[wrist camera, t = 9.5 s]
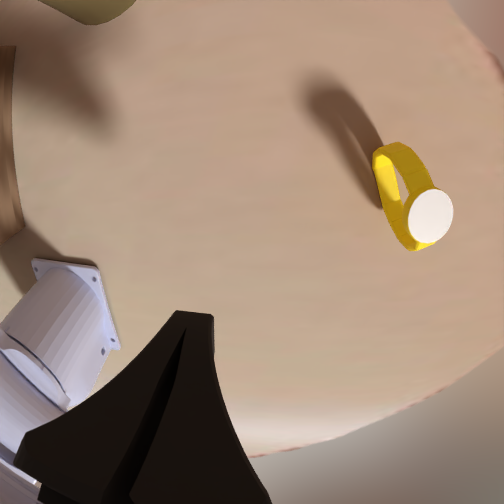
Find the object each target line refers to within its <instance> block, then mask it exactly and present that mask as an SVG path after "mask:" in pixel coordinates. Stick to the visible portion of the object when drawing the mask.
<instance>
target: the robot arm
mask: <svg viewBox="0 0 504 504" xmlns="http://www.w3.org/2000/svg"><path fill="white" fill-rule="evenodd" d="M31 264H32V268H33V271H34V274H35V277H36V279H37V282H36V283H35V284H34V285H33V286H32V287H31V289H30V290H29V291H28V292H27V293H26V294H25V295H24V296H23V297H22V299H21V300H20V301H19V302H18V303H17V304H16V305H15V307H14V308H13V309H12V310H11V311H10V312H9V314H8V315H7V316H6V317H5V318H4V320H3V321H2V322H1V323H0V504H272V502H271V500H270V497H269V494H268V492H267V490H266V489H265V487H264V486H263V484H262V483H261V481H260V479H259V478H258V476H257V474H256V473H255V471H254V469H253V467H252V465H251V464H250V462H249V460H248V458H247V456H246V454H245V452H244V450H243V448H242V446H241V443H240V441H239V439H238V437H237V434H236V432H235V430H234V428H233V425H232V423H231V420H230V417H229V415H228V412H227V409H226V406H225V403H224V400H223V396H222V393H221V389H220V386H219V382H218V378H217V373H216V368H215V363H214V351H215V349H214V317H213V316H212V315H211V314H205V313H196V312H187V311H179V310H176V311H175V312H174V313H173V314H172V316H171V317H170V318H169V319H168V321H167V322H166V323H165V324H164V326H163V327H162V328H161V329H160V331H159V332H158V333H157V334H156V335H155V336H154V338H153V339H152V340H151V341H150V342H149V343H148V344H147V345H146V347H145V348H144V349H143V350H142V351H141V352H140V353H139V354H138V355H137V356H136V357H135V358H134V359H133V360H132V361H131V362H130V363H129V364H128V365H127V366H126V367H125V368H124V369H123V370H122V371H121V372H120V373H119V374H118V375H117V376H116V377H114V378H113V379H112V380H111V381H110V382H109V383H107V384H106V385H105V386H104V387H103V388H101V389H100V390H99V391H97V392H96V393H95V394H93V395H92V396H91V397H89V398H88V399H86V398H87V396H88V395H89V394H90V392H91V390H92V388H93V386H94V384H95V382H96V380H97V377H98V375H99V373H100V371H101V369H102V367H103V365H104V363H105V361H106V358H107V356H108V354H109V352H110V350H111V349H114V350H119V349H120V347H121V345H120V342H119V339H118V336H117V333H116V330H115V327H114V323H113V320H112V317H111V314H110V310H109V307H108V303H107V300H106V296H105V292H104V288H103V284H102V280H101V276H100V272H99V270H98V269H97V268H96V267H94V266H88V265H81V264H73V263H66V262H59V261H52V260H45V259H38V258H34V259H33V260H32V261H31ZM94 277H95V278H96V279H95V278H94ZM85 399H86V400H85ZM83 400H85V401H84V402H82V401H83ZM81 402H82V403H81ZM79 403H81V404H79ZM77 404H79V405H78V406H76V407H74V408H73V409H71V410H69V411H68V410H67V408H68V407H71V406H75V405H77ZM37 481H39V482H40V483H42V485H41V488H39V487H37V486H35V485H34V484H35V483H36V482H37Z"/></svg>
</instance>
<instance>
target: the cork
mask: <svg viewBox="0 0 504 504" xmlns="http://www.w3.org/2000/svg"><path fill="white" fill-rule="evenodd" d="M38 1H40V2H42V3H44V4H46V5H48V6H50V7H52V8H54V9H56V10H58V11H60V12H62V13H64V14H65V15H67V16H69V17H71V18H73V19H74V20H76V21H78V22H80V23H82V24H84V25H98V24H102V23H105V22H108V21H110V20H112V19H114V18H115V17H117V16H119V15H121V14H122V13H123V12H124V11H126V10H127V9H128V8H129V7H130V6H132V5H133V3H134V2H135V1H136V0H38Z"/></svg>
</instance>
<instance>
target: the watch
mask: <svg viewBox="0 0 504 504" xmlns="http://www.w3.org/2000/svg"><path fill="white" fill-rule="evenodd" d="M393 165H394V166H395V167H396V169H397V170H398V172H399V173H400V175H401V176H402V177H403V180H404V183H405V185H406V188H407V190H408V193H409V196H408V198H407V200H406V202H405V204H404V206H403V203H402V201H401V199H400V195H399V190H398V185H397V180H396V176H395V172H394V167H393ZM372 170H374V174H375V178H376V182H377V186H378V190H379V194H380V198H381V202H382V207H383V210H384V212H385V214H386V217H387V219H388V222H389V224H390V226H391V228H392V230H393V231H394V233H395V235H396V237H397V239H398V240H399V242H400V243H401V244H402V245H403V246H404V247H405V248H406V249H407V250H409V251H417V250H420V249H422V248H425V247H427V246H429V245H432V244H434V243H435V242H436V241H437V240H438V239H440V238H441V237H442V236H443V235H444V234H445V233H446V232H447V230H448V229H449V227H450V225H451V222H452V218H453V206H452V202H451V200H450V198H449V197H448V195H447V194H446V193H445V192H443V191H442V190H440V189H438V188H437V187H434V185H433V182H432V180H431V177H430V175H429V173H428V170H427V169H426V168H425V165H424V164H423V162H422V161H421V160H420V159H419V157H418V156H417V155H416V153H415V152H414V151H413V150H412V149H411V148H410V147H408V146H406V145H404V144H402V143H400V142H395V143H392V144H389V145H385V146H382V147H379V148H378V149H377V150H375V151H374V153H373V158H372Z"/></svg>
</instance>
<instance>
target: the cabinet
mask: <svg viewBox="0 0 504 504" xmlns="http://www.w3.org/2000/svg"><path fill="white" fill-rule="evenodd" d="M15 49H16V46H0V245H2V244H3V243H4V242H5V241H7V240H8V239H9V238H11V237H12V236H13V235H14V234H16V233H17V232H18V231H20V230H21V229H22V228H24V227H25V223H24V218H23V213H22V209H21V203H20V198H19V192H18V186H17V179H16V172H15V164H14V154H13V141H12V114H11V106H12V79H13V67H14V57H15Z"/></svg>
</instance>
